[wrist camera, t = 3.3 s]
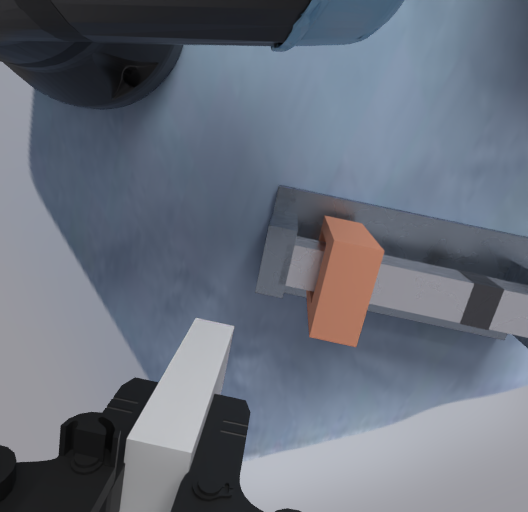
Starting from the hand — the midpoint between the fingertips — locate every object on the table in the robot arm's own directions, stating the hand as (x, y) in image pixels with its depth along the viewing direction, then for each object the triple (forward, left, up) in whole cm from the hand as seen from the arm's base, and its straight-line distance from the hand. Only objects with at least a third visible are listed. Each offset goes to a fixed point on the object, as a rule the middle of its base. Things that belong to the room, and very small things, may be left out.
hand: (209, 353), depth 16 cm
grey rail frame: (+12, 0, -21) cm, 24 cm away
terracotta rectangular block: (+6, 0, -18) cm, 19 cm away
